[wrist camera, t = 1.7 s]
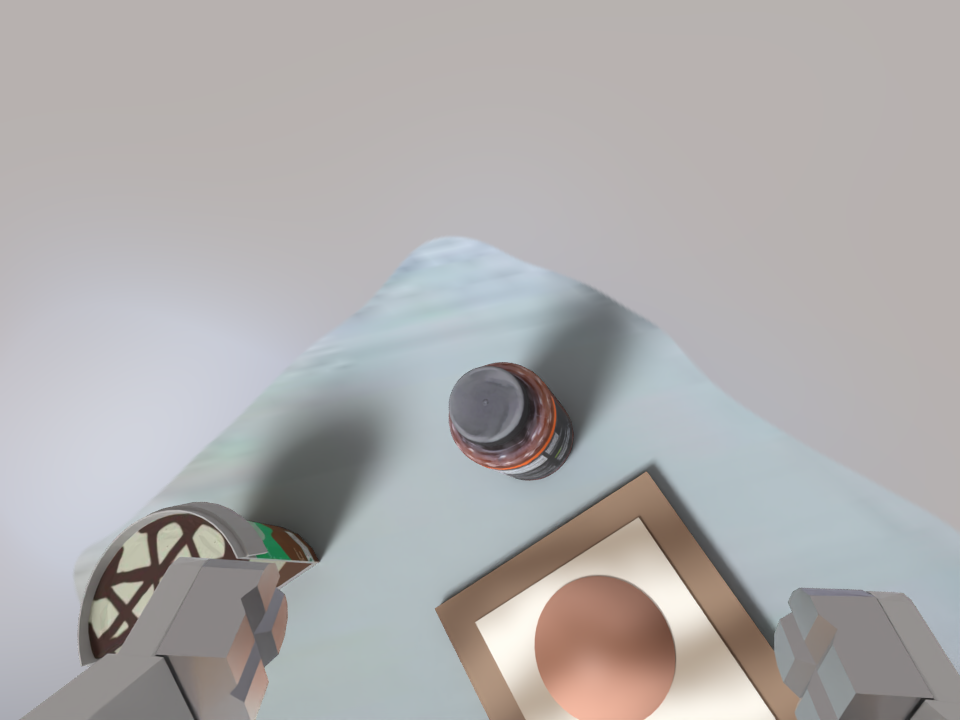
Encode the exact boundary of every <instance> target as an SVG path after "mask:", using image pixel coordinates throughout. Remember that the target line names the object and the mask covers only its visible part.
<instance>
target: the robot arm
mask: <svg viewBox="0 0 960 720" xmlns="http://www.w3.org/2000/svg"><path fill="white" fill-rule="evenodd" d="M279 578H280V575H279V572H278V569H277V566H276V563H266V562H252V561H238V560H223V559H212V558H194V557H179V558H178V559H177V560H175V561H174V562H173V563H172V564H171V565H170V566H169V567H168V569H167V571H166V573H165V574H164V576H163V578H162V579H161V581H160V583H159V584H158V586H157V588H156V589H155V591H154V593H153V595H152V596H151V598H150V600H149V601H148V603H147V605H146V606H145V608H144V610H143V611H142V613H141V615H140V616H139V618H138V620H137V622H136V623H135V625H134V627H133V628H132V630H131V632H130V633H129V635H128V637H127V638H126V640H125V642H124V644H123V645H122V647H121V649H120V650H119V652H118V654H107V655H105V656H104V657H103V658H101V659H100V660H99V661H97V662H96V663H95V664H93V665H92V666H91V667H89V668H88V669H87V670H85V671H84V672H82V673H81V674H80V675H78V676H77V677H76V678H74V679H73V680H72V681H70V682H69V683H68V684H66V685H65V686H64V687H62V688H61V689H60V690H58V691H57V692H56V693H54V694H53V695H52V696H50V697H49V698H48V699H46V700H45V701H44V702H42V703H41V704H40V705H38V706H37V707H36V708H34V709H33V710H32V711H30V712H29V713H28V714H26V715H25V716H24V717H22V718H21V719H20V720H255V719H256V716H257V714H258V711H259V708H260V705H261V702H262V700H263V697H264V694H265V691H266V688H267V686H268V683H269V681H268V678H267V675H266V672H265V669H264V667H265V666H266V665H267V664H268V663H269V662H270V661H272V660H273V659H274V658H275V657H276V656H277V655H278V654H279V651H280V648H281V645H282V642H283V639H284V636H285V630H286V624H287V618H288V611H287V601H286V597H285V594H284V593H283V592H282V591H280V590H279V589H278V588H277V587H276V586H277V583H278V580H279ZM788 604H789V606H790V608H791V611H792V613H790V614H788V615H787V616H785V617H783V618H781V619H780V620H779V623H778V625H777V628H776V630H775V633H774V652H775V657H776V662H777V666H778V669H779V672H780V675H781V677H782V680H783V683H784V684H786V685H787V686H788V687H789V688H790V689H791V690H792V691H793V692H794V693H795V694H796V695H797V696H798V697H799V700H798V703H797V706H796V709H795V712H794V713H795V715H796V718H797V720H960V676H959V674H958V672H957V671H956V669H955V668H954V666H953V665H952V663H951V661H950V660H949V658H948V657H947V655H946V654H945V652H944V650H943V649H942V647H941V646H940V644H939V643H938V641H937V639H936V638H935V636H934V635H933V633H932V632H931V630H930V628H929V627H928V625H927V624H926V622H925V620H924V619H923V617H922V616H921V614H920V613H919V611H918V609H917V608H916V606H915V605H914V603H913V602H912V600H911V599H909V598H908V597H907V596H906V595H905V594H903V593H898V592H875V591H863V590H850V589H820V588H798V589H797V590H795V591H793V592H792V594H791V596H790V598H789V601H788Z"/></svg>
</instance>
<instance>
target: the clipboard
mask: <svg viewBox="0 0 960 720" xmlns="http://www.w3.org/2000/svg"><path fill="white" fill-rule="evenodd" d="M435 610H436V612H437V614H438V616H439V618H440V620H441V622H442V625H443V627H444V629H445V631H446V633H447V635H448V637H449V639H450V641H451V643H452V645H453V647H454V649H455V651H456V653H457V655H458V657H459V659H460V661H461V663H462V665H463V667H464V669H465V671H466V673H467V675H468V677H469V679H470V681H471V683H472V685H473V687H474V689H475V691H476V693H477V695H478V697H479V699H480V701H481V703H482V705H483V707H484V709H485V711H486V713H487V715H488V717H489V719H490V720H797V718H796V715H795V713H794V712H795V709H796V706H797V703H798V700H799V697H798V696H797V695H796V694H795V693H794V692H793V691H792V690H791V689H790V688H789V687H788V686H787V685H786V684H784V683H783V680H782V677H781V675H780V672H779V669H778V666H777V662H776V657H775V652H774V650H773V649H772V647H771V646H770V645H769V643H768V642H767V640H766V639H765V637H764V636H763V635H762V633H761V632H760V630H759V629H758V628H757V626H756V625H755V623H754V622H753V621H752V619H751V618H750V616H749V615H748V613H747V612H746V611H745V609H744V608H743V606H742V605H741V604H740V602H739V601H738V599H737V598H736V597H735V595H734V594H733V592H732V591H731V589H730V588H729V587H728V585H727V584H726V582H725V581H724V580H723V578H722V577H721V575H720V574H719V573H718V571H717V570H716V568H715V567H714V565H713V564H712V563H711V561H710V560H709V558H708V557H707V556H706V554H705V553H704V551H703V550H702V549H701V547H700V546H699V544H698V543H697V542H696V540H695V539H694V537H693V536H692V534H691V533H690V532H689V530H688V529H687V527H686V526H685V525H684V523H683V522H682V520H681V519H680V518H679V516H678V515H677V513H676V512H675V510H674V509H673V508H672V506H671V505H670V503H669V502H668V501H667V499H666V498H665V496H664V495H663V494H662V492H661V491H660V489H659V488H658V486H657V485H656V484H655V482H654V481H653V479H652V478H651V477H650V475H649V474H648V472H647V471H646V472H645V473H643V474H642V475H640V476H639V477H637V478H636V479H634V480H633V481H631V482H629V483H628V484H626V485H625V486H623V487H622V488H620V489H619V490H617V491H616V492H614V493H612V494H611V495H609V496H608V497H606V498H605V499H603V500H602V501H600V502H599V503H597V504H595V505H594V506H592V507H591V508H589V509H588V510H586V511H585V512H583V513H582V514H580V515H579V516H577V517H575V518H574V519H572V520H571V521H569V522H568V523H566V524H565V525H563V526H562V527H560V528H558V529H557V530H555V531H554V532H552V533H551V534H549V535H548V536H546V537H545V538H543V539H541V540H540V541H538V542H537V543H535V544H534V545H532V546H531V547H529V548H528V549H526V550H525V551H523V552H521V553H520V554H518V555H517V556H515V557H514V558H512V559H511V560H509V561H508V562H506V563H504V564H503V565H501V566H500V567H498V568H497V569H495V570H494V571H492V572H491V573H489V574H488V575H486V576H484V577H483V578H481V579H480V580H478V581H477V582H475V583H474V584H472V585H471V586H469V587H467V588H466V589H464V590H463V591H461V592H460V593H458V594H457V595H455V596H454V597H452V598H450V599H449V600H447V601H446V602H444V603H443V604H441V605H440V606H438V607H437V608H435Z"/></svg>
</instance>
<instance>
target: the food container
mask: <svg viewBox="0 0 960 720" xmlns="http://www.w3.org/2000/svg"><path fill="white" fill-rule="evenodd" d="M179 557H194V558H212V559H223V560H238V561H252V562H266V563H276V566H277V569H278V572H279V575H280V578H279V580H278V583H277V586H276V587H277V588H278V589H281V588H282V587H284V586H285V585H287V584H288V583H290V582H291V581H292V580H294V579H295V578H297V577H298V576H300V575H301V574H303V573H304V572H306V571H307V570H309V569H310V568H311V567H313V566H314V565H316V564H317V563H319V560H318V558H317V556H316V554H315V553H314V551H313V549H312V548H311V547H310V546H309V545H308V544H307V543H306V542H305V541H304V540H303V539H302V538H301V537H300V536H299V535H298V534H296V533H294V532H291V531H289V530H287V529H285V528H282V527H278V526H273V525H267V524H262V523H256V522H251V521H246V520H245V519H244V518H243V517H242V516H240V515H239V514H237V513H236V512H234V511H233V510H231V509H229V508H226V507H224V506H221V505H219V504H213V503H208V502H192V503H187V504H183V505H178V506H173V507H168V508H163V509H161V510H158V511H156V512H153V513H151V514H149V515H147V516H146V517H143V518H141V519H140V520H138V521H137V522H135V523H133V524H132V525H130V526H129V527H128V528H126V529H125V530H124V531H123V532H122V533H120V534H119V535H118V536H117V537H116V539H115V540H114V541H113V542H112V543H111V544H110V545H109V546H108V548H107V549H106V550H105V552H104V553H103V555H102V556H101V557H100V559H99V561H98V563H97V564H96V566H95V568H94V570H93V572H92V574H91V576H90V579H89V581H88V583H87V586H86V589H85V592H84V595H83V599H82V602H81V607H80V613H79V619H78V633H77V638H78V639H77V640H78V654H79V659H80V665H81V666H85V665H87V666H88V667H89V666H92V665H93V664H95V663H96V662H97V661H99V660H100V659H101V658H103V657H104V656H105V655H107V654H118V652H119V650H120V649H121V647H122V645H123V644H124V642H125V640H126V638H127V637H128V635H129V633H130V632H131V630H132V628H133V627H134V625H135V623H136V622H137V620H138V618H139V616H140V615H141V613H142V611H143V610H144V608H145V606H146V605H147V603H148V601H149V600H150V598H151V596H152V595H153V593H154V591H155V589H156V588H157V586H158V584H159V583H160V581H161V579H162V578H163V576H164V574H165V573H166V571H167V569H168V567H169V566H170V565H171V564H172V563H173V562H174V561H175V560H177V559H178V558H179Z"/></svg>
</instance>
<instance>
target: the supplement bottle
mask: <svg viewBox="0 0 960 720" xmlns="http://www.w3.org/2000/svg"><path fill="white" fill-rule="evenodd" d="M449 426H450V431H451V434H452V437H453V439H454V441H455V443H456V444H457V446H458V447H459V449H460V450H461V451H462V452H463V453H464V454H465V455H466V456H467V457H468V458H470V459H471V460H473V461H474V462H476V463H478V464H480V465H482V466H485V467H487V468H489V469H492V470H495V471H497V472H500V473H502V474H505V475H508V476H510V477H513V478H516V479H520V480H538V479H542V478H545V477H547V476H549V475H551V474H553V473H554V472H556V471H557V470H558V469H559V468H560V467H561V466H562V465H563V464H564V462H565V461H566V459H567V458H568V456H569V454H570V451H571V448H572V444H573V428H572V424H571V421H570V418H569V416H568V414H567V412H566V411H565V409H564V408H563V406H562V405H561V404H560V402H559V401H558V400H557V399H556V397H555V396H554V394H553V393H552V392H551V391H550V390H549V388H548V387H547V386H546V384H545V383H544V382H543V381H542V380H541V379H540V378H539V377H538V376H537V375H536V374H535V373H534V372H532V371H531V370H529V369H527V368H525V367H523V366H521V365H518V364H513V363H508V362H499V363H492V364H488V365H485V366H482V367H478V368H475V369H473V370H471V371H469V372H467V373H466V374H464V375H463V376H462V377H461V378H460V379H459V380H458V382H457V383H456V384H455V386H454V388H453V390H452V392H451V395H450V399H449Z"/></svg>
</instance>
